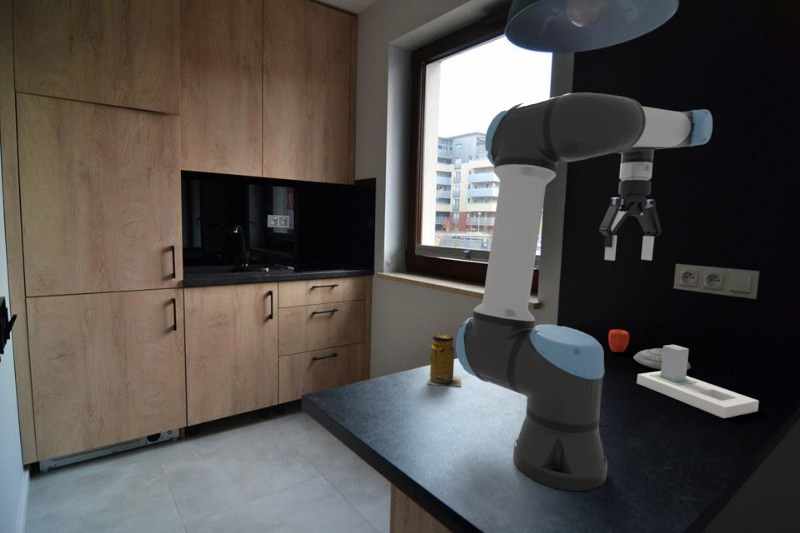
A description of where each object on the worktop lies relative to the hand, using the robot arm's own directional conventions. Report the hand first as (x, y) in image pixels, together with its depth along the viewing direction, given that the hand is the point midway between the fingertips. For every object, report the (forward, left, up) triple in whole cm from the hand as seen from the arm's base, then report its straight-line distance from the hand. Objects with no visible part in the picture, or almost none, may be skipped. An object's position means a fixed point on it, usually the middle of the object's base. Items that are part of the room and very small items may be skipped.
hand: (628, 260), depth 117 cm
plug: (+7, -11, -33) cm, 35 cm away
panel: (+7, -16, -33) cm, 37 cm away
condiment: (-48, +12, -33) cm, 59 cm away
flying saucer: (+22, +4, -33) cm, 40 cm away
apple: (+21, +19, -33) cm, 43 cm away
